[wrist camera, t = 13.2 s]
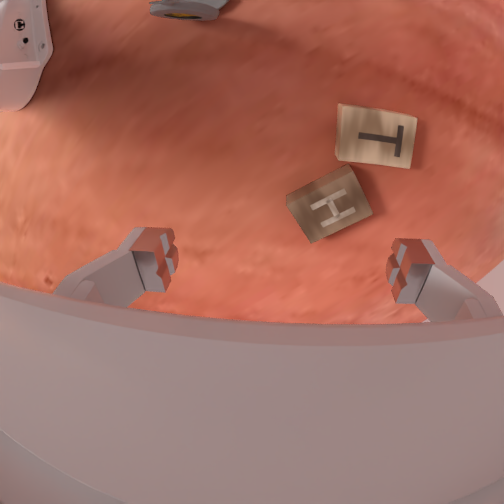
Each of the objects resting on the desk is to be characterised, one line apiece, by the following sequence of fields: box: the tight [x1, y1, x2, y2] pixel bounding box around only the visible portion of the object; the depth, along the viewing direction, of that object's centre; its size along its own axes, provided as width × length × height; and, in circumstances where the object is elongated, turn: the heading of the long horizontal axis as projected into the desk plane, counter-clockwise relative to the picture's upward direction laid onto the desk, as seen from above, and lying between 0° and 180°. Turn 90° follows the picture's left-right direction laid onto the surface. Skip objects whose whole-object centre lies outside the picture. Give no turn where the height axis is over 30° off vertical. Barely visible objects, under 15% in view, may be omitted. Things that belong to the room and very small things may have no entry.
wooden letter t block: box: [335, 103, 417, 169], centre depth 27 cm, size 6×3×8 cm
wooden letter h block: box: [286, 164, 373, 243], centre depth 32 cm, size 6×3×8 cm
